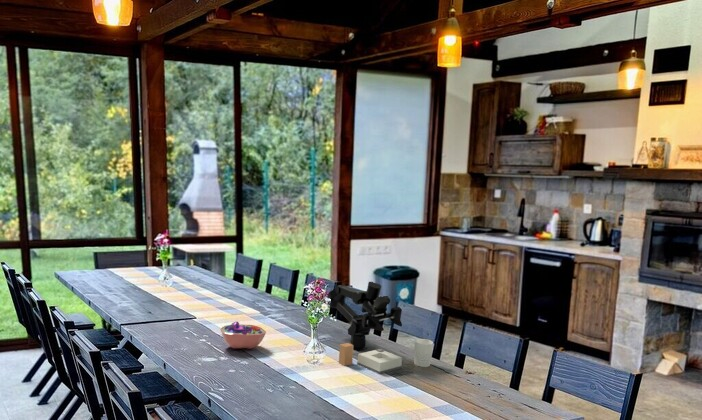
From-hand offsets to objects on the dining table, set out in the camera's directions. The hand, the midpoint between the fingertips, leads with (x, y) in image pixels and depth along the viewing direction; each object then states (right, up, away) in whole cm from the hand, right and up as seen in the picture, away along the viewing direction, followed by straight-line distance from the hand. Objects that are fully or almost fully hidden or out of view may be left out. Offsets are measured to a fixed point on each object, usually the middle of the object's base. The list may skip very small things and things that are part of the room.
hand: (392, 327), depth 229 cm
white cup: (+13, -17, +6) cm, 22 cm away
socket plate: (-6, -16, -1) cm, 17 cm away
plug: (-20, -15, 0) cm, 25 cm away
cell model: (-65, -11, +11) cm, 67 cm away
